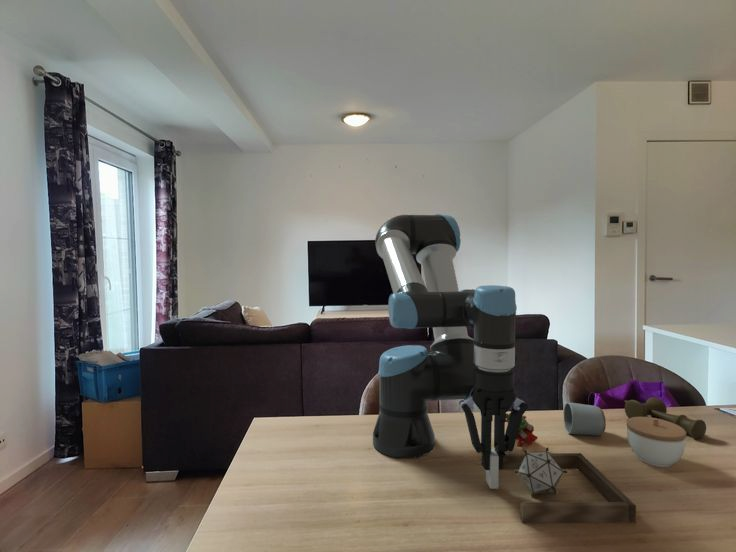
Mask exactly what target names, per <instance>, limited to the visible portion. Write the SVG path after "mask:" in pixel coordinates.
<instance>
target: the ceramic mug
mask: <svg viewBox="0 0 736 552" xmlns="http://www.w3.org/2000/svg"><path fill="white" fill-rule="evenodd" d="M563 423H564V429H565V430H566V432H567V433H568V434H570V435H578V436H579V435H580V436H581V435H582V436H593V437H594V436H602V435H603V434H604V433H605V431H606V427H607V426H606V425H607V423H606V415H605V413H604V411H603V410H602V408H600V406H596V405H591V404H584V403H576V402H566V403H565V405H564V408H563Z"/></svg>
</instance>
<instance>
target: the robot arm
mask: <svg viewBox="0 0 736 552" xmlns="http://www.w3.org/2000/svg"><path fill="white" fill-rule="evenodd" d="M461 240H462V239H461V230H460V226H459V224H458V222H457V220H456V219H455V218H454V217H453V216H451V215H448V214H447V215H446V214H440V213H438V214H437V213H436V214H400V215H395V216H393V217H391V218H389V219H388V220H386V221H385V222H384V223H383V224H382V225H381V226H380V228H379V229H378V231H377V233H376V235H375V241H374V243H375V249H376V252H377V253H376V254H377V255H378V256H379V257H380V258H381V259H382V261H383V263H384V266H385V270H386V273H387V274H386V275H387V277H388V280H389V283H390V286H391V290H392V293H391V294H390V295H389V297H388V308H387V309H388V318H389V319H388V321H389V323H390V325H391V327H393V328H395V329H408V330H414V329H426V328H427V329H428V328H432V331H433V337H434V341H433V342H432V344H431V345H430V347H429V349H430V351H428V349H427V348H426V347H425V346H423V345H419V344H418V345H412V344H411V345H401V346H396V347H392V348H390V349H388V350H386V351H383V353H382V354H381V355H380V357H379V361H378V363H379V365H378V371H377V372H378V376H379V379H378V380H379V381H378V382H379V413H378V416H377V418H376V419H377V420H376V422H375V425H374V429H373V431H372V444H373V448H374V449H375V450H377V451H378V452H379V453H381V454H382V455H386V456H388V457H393V458H400V459H411V458H418V457H423V456H425V455H427V454H430V452H432V451H433V450H434V449H435V447H436V446H435V445H436V441H435V440H436V437H435V433H434V432H435V431H434V429H433V426H432V423H431V420H430V416H429V415H428V402H435V401H457V400H460V401H459V406H460V407H461V409H462V410H463V412H464V416H465V421H466V424H467V425H466V426H467V428H468V433H469V437H470V441H471V442H470V443H471V445H472V447H473V448H474V450H475V452H476V453H481V467H482V468H483V470H484V471H485V481H486V483H487V484H488V487H489V489H490V490H491V489H492V490H493V489H495V490H496V489H497V490H498V489H499V471H501V470H502V469H503V457H505V456H506V454H507V453H506V452H511V453H512V452H513V451H514V449H515V446H516V442H517V440H516V438H517V435H518V431H519V427H520V423H521V419H522V416H523V415H524V414H525V413H526V411H527V410H528V408H529V405H528V403H526V402H525V401H524V400H523V399H521V398H518V397H517V394H516V392H515V390H514V389H515V370H514V369H513V368H514V367H515V365H516V364H515V358H516V357H515V355H516V346H515V345H516V324H517V323H516V321H517V304H516V302H517V301H516V292H515V289H514V288H512V287H510V286H506V285H495V284H494V285H493V284H492V285H487V284H486V285H479V286H477V287H476V288H475V289H473V288H472V289H466V288H465V289H461V290H459V287H458V286H459V285H458V281H457V276H456V270H455V265H454V262H453V260H454V258H455V257H456V255H457V252H458V251H459V250H460V246H461ZM413 255H415V258H416V260H415V259H414V256H413ZM416 261H417V263H419V265H422V269H423V276H424V280H425V281H424V280H423V277H422V275H421V272H420V270H419V268H418V266H417V263H416ZM467 327H471V328H473V337H470V336H469V335H468V330H467V329H468V328H467ZM474 404H475V405H476V407H477V408H478V409H479V411H480V416H481V417H480V419H481V421H480V422H481V423H480V436H479V432H478V428H477V427H478V426H477V423H476V418H475V415H474V410H475V407H474ZM510 409H511V410H510ZM509 410H510V413H509V414H510V417H509V421H508V422H507V425H506V422H505V421H506V414H507V413H508V411H509ZM493 420H494V421H493ZM492 422H493V427H492ZM492 428H493V448H492ZM505 428H506V429H505Z"/></svg>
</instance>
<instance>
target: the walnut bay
mask: <svg viewBox="0 0 736 552" xmlns="http://www.w3.org/2000/svg"><path fill="white" fill-rule="evenodd" d="M548 453H549V454H550V455H551V457H552V458H553V459H554V460H555V462H556V463H557V464H558V465H559V467H560V468H561V469H562V470H577V471H578V472H579V473H580V474H581V475H582V476H583V477H584V478H585V479H586V480H587V481H588V482H589V483H590V484H591V485H592V486H593V487H594V488H595V490H597V492H598V493H600V495H602V496H603V498H604V499H605V500H606V501H575V502H574V501H557V502H555V501H550V502H549V501H543V502H542V501H540V502H539V501H538V502H537V501H536V502H533V501H532V502H531V501H530V502H529V501H528V502H527V501H525V502H524V501H522V502H520V518H519V519H520V521H521V522H522V523H523V524H563V523H564V524H565V523H566V524H570V523H572V524H573V523H574V524H584V523H585V524H588V523H594V524H596V523H597V524H599V523H601V524H604V523H605V524H606V523H610V524H611V523H616V524H618V523H633V524H634V523H636V521H637V520H636V514H637V513H636V512H637V511H636V509H637V506H636V504H635V503H634V502H633V501H632V500H630V498H629V497H628V496H627V495H625V494H624V493H623V492H622V491H621V490H620V489H619V488H618V487H617V486H616V485H615V484H614V483H613V482H612V481H611V480H610V479H608V477H607V476H605V475H604V473H602V472H601V471H600V470H599V469H598V468H597V467H596V466H595V465H594V464H593V463H592V462H591V461H590V460H589V459H588V458H586V457H585V455H584V454H582V453H581V452H573V453H572V452H570V453H569V452H564V453H563V452H560V453H559V452H558V453H557V452H554V453H551V452H548ZM505 454H506V456H505V457H503V469H502V470H506V471H507V470H511V471H512V470H514V471H518V469H519V467H520V465H521V463H522V461H523V459H524V456H525V454H526V453H524V452H523V453H505Z"/></svg>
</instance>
